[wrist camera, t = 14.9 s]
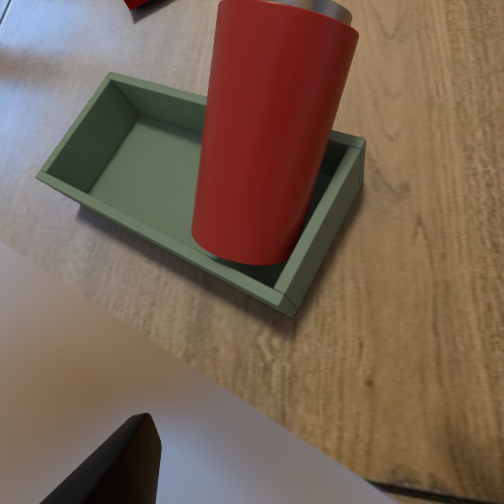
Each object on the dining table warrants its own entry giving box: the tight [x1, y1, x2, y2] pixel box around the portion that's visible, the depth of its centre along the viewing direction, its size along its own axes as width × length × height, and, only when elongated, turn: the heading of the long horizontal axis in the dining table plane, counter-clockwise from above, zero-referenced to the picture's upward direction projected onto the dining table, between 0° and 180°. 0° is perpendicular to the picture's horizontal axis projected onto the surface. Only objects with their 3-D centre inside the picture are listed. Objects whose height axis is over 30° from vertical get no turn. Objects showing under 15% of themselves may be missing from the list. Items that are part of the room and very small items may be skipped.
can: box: [191, 0, 359, 265], centre depth 17 cm, size 6×6×12 cm
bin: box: [35, 72, 366, 318], centre depth 23 cm, size 10×21×5 cm, turn 60°
